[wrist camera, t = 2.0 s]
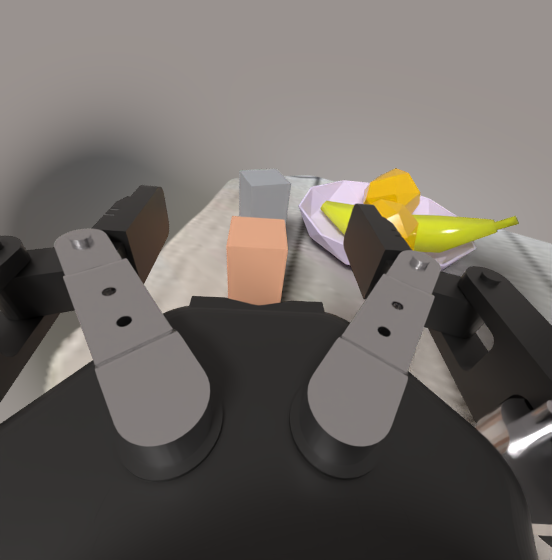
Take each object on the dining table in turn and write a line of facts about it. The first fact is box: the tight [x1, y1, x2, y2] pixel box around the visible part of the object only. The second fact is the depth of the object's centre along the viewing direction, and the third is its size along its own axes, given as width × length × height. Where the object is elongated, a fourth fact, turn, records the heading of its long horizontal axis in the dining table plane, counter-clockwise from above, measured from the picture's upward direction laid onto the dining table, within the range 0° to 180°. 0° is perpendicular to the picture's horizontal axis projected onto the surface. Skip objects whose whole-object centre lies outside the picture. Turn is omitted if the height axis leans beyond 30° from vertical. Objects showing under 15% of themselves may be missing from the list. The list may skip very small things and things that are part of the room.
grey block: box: [239, 169, 291, 227], centre depth 38 cm, size 5×5×12 cm
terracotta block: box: [227, 216, 288, 305], centre depth 28 cm, size 5×5×12 cm
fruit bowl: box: [299, 168, 519, 270], centre depth 43 cm, size 28×27×11 cm
